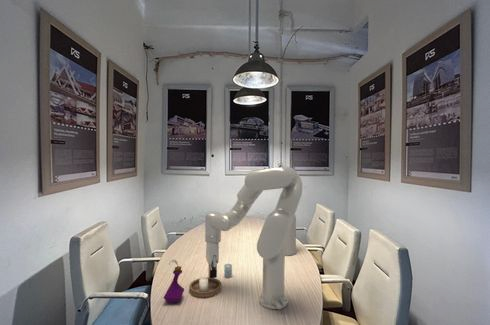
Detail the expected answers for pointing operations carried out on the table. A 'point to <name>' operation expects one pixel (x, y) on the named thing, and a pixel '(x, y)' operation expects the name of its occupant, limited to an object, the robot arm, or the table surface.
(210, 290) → the groove tray
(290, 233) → the cylinder vase
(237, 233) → the table surface
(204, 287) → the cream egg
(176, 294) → the perfume bottle
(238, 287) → the table surface
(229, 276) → the bead slate
